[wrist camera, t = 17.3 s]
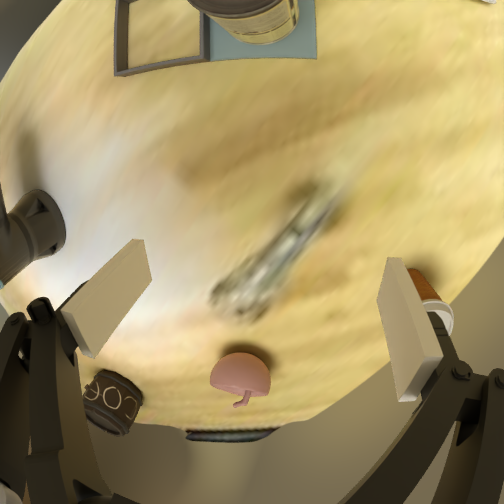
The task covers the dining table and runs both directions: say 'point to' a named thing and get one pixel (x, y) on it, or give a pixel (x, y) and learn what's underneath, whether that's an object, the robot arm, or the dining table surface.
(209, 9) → the coffee can
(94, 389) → the coffee canister
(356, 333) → the dining table surface
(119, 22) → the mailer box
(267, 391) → the pink apple
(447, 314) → the disposable coffee cup
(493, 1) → the salad plate
